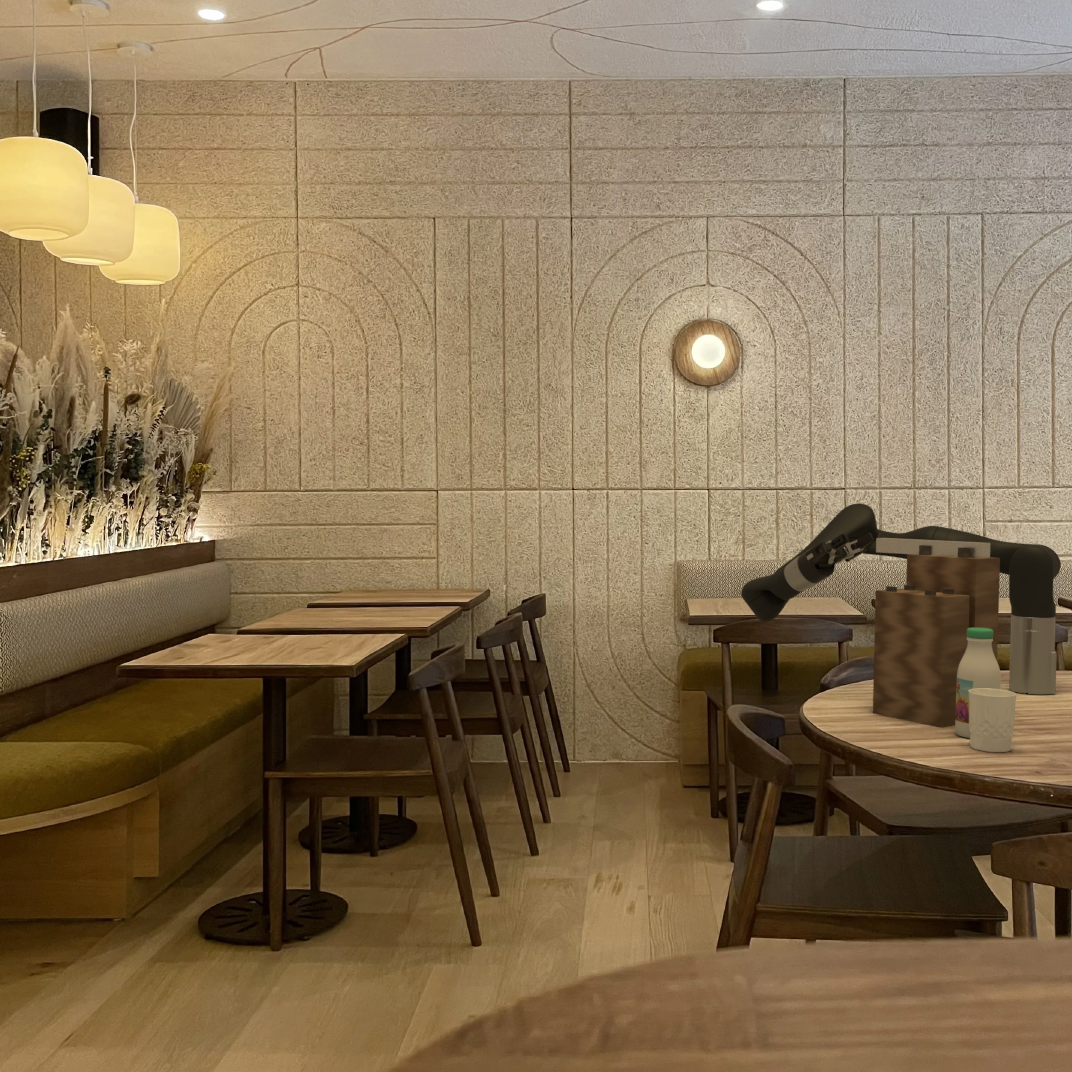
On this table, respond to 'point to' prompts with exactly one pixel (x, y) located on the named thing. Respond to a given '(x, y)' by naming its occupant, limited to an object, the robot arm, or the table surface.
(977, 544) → the block
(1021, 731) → the table surface
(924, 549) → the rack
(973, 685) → the milk bottle
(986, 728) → the white cup
